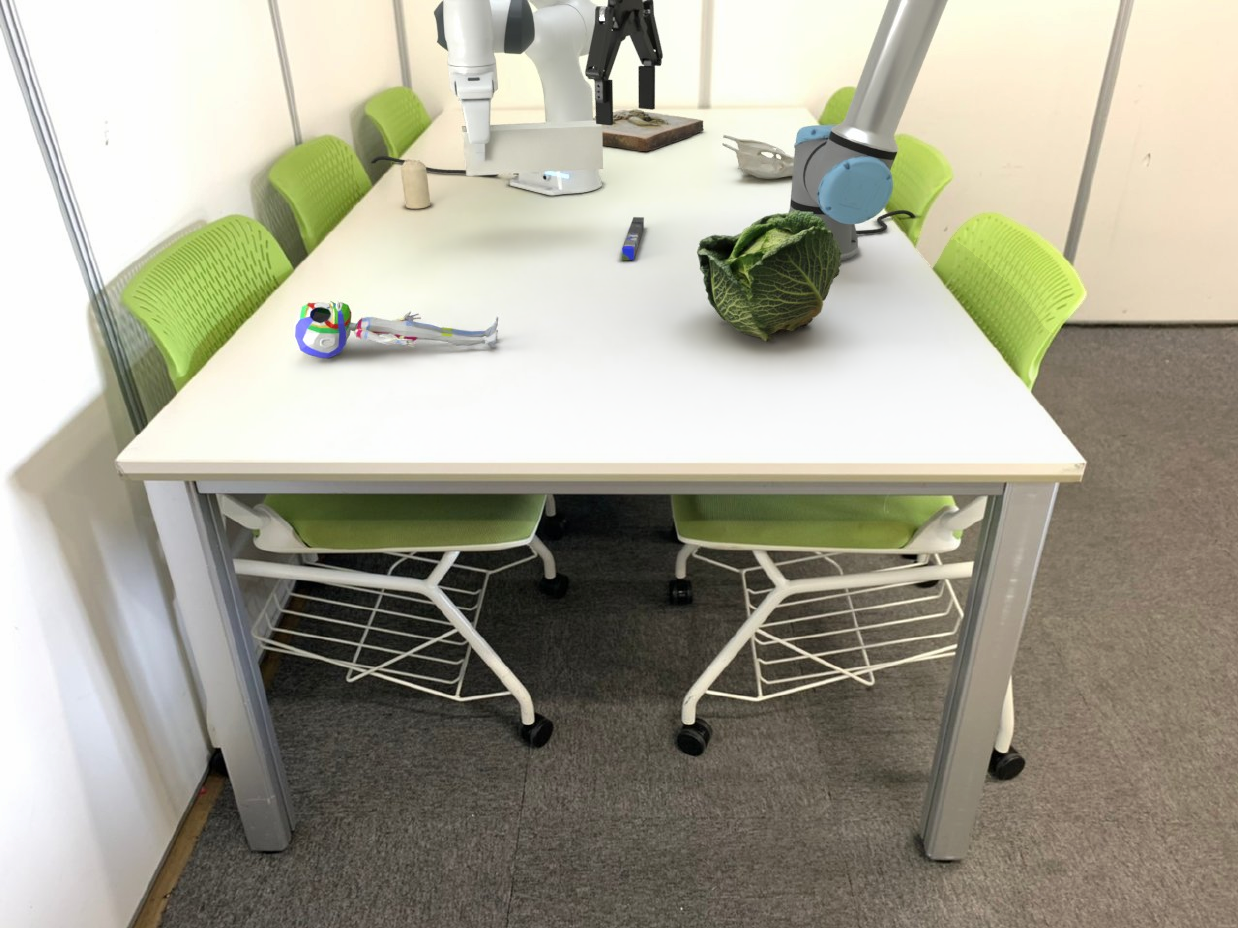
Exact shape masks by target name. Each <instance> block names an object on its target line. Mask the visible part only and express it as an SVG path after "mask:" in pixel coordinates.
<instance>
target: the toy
mask: <svg viewBox="0 0 1238 928" xmlns="http://www.w3.org/2000/svg"><path fill="white" fill-rule="evenodd" d="M411 313H412V311H411V310H410V311H409V312H408V313H406V314H405V315H404V316H403V317H402V318H396V319H391V320H389V319H384V318H380V317H379V318H377V317H374V316H365V317H361V318H360V319H358V321H357V322H352V311H351V308H350V306H349V304H347V303H344V302H342V301H337V302H336V303H335V302H333V301H332V300H330V303H329V302H308V303H306V304H305V305H302V307H301V308H300V311H299V313H298V315H297V318H296V320H295V321H294V325H293V337H294V340H295V342H296V344H297V346H298V348H299V350H300V351H301V352H303V353H305V354H306V355H308V356H312V357H316V358H322V359H329V358H332V357H334V356H337V355H340V354H341V353H342V351H343V350H344V348H345V347H346V346H347V343H348V339H349V337H350V335H351V331H352V332H353V333H354V336H355V337H356V338H358V339H359V340H369V341H371V342H376V343H379V344H382V345H404V346H409V347H412V348H414V346H416V343H414V342H415V341H417V340H424V341H434V342H435V341H437V342H443V343H448V344H451V345H455V346H476V345H482V344H485V345H486V346H489V347H491V348H494V347H495V345H496V343H497V341H498V333H499V330H498V329H497V328H498V326H499V325H498V322H499V317H498V316H496V317H495V321H494V323H493V324H492V325H491V326H490V327H489V328H487V329H486V330H465V329H458V328H453V327H439V326H437V325H433V324H430V323H424V322H418V321H415V320H421V319H422V317H419V315H420V313H416V314H412V315H411ZM416 316H418V317H416ZM381 335H392V336H394V337H391V336H381Z"/></svg>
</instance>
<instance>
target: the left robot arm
mask: <svg viewBox="0 0 1238 928" xmlns="http://www.w3.org/2000/svg"><path fill="white" fill-rule="evenodd" d="M530 3H531V4H532V6H534V8H536V10H535V11H533V10H532V6H531V4H530ZM597 6H598V5H597V4H596V3H594V2H593V1H592V0H442V1H441V2H439V4H438V5H437V6H436V8H435V9H434V10H433V15H434V18H435V24H436V35H437V39H436V43H437V44H438V45H440V46H441V47H442V48H443V49H444V50H446V51H447V52H448V53H447V54H448V55H447V73H448V81H449V90H450V92H451V93H453V94H454V95H455V96H456V97H457V100H458V101H459V103H460V106H461V110H462V115H463V118H464V123H465V126H466V129H467V134H468V138H469V141H470V143H471V144H474V149H475V157H476V161H477V162H484V161H485V143H488V142H489V138H490V125H491V110H492V109H491V105H492V99H493V98H494V96H495V93H496V91H498V90H499V83H498V81H499V80H498V69H497V68H498V67H497V59H496V55H495V54H498V53H499V54H502V53H503V54H508V55H522V54H523V53H524V54H525V55H526V56H527V57H528V58H529V60H531V61H532V63H533V64H534V66H535V69H536V71H537V74H538V76H539V81H540V83H541V88H542V93H543V104H544V105H543V106H544V118H545V119H544V120H545V121H544V122H545V123H546V122H569V121H591V120H593V118H594V102H593V101H594V100H593V99H594V98H593V89H592V86H591V84H590V83H589V82H588V81H587V80H586V79H585V76H584V75H583V72H582V68H581V63H580V57H583V56H588V55H589V50H590V45H591V40H592V35H593V30H594V25H595V9H596V7H597ZM603 24H604V23H603ZM382 160H383V161H390V162H394V163H398V164H403V163H404V162H405V161H406V160H407V159H401V158H396V157H392V156H386V155H380V156H379V155H378V156H376V157H375V158H373V159H372V160H371V162H370V164H376V163H377V162H379V161H382ZM426 172H430V173H436V174H451V175H452V174H454V175H455V174H457V175H458V174H459V175H466V169H441V168H433V167H428V166H426ZM512 175H514V176H513V177H512V178H511V179H510V180H509V186H511V187H514V188H517V189H518V188H519V189H523V190H527V191H531V192H535V193H539V194H543V195H545V196H559V195H568V194H569V195H570V194H582V193H588V192H592V191H595V190H598V189H600V188H601V187H602V186H603V183H602V180H601V178H600V177H601V176H600V173H599V169H593V170H574V171H554V172H535V173H515V174H512ZM476 176H478V177H483V178H495V177H498V176H500V174H496V175H476Z"/></svg>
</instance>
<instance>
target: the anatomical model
mask: <svg viewBox="0 0 1238 928" xmlns="http://www.w3.org/2000/svg"><path fill="white" fill-rule="evenodd" d="M722 138H723V139H727V140H730V141H733V142H735V143H736V144H737V148H735V147H733V146H731V145H729V144H728V143H725V142H722V143H721V144H722V145H721V146H723V147H725V148H726V149H729V150H731V151H733V152H734V153H735V154H736V159H737V163H738V167H737V169H738V170H741V171H742V173H744V174H745V175H750V176H751V175H752V176H754V177H755V178H757V179H766V180H769V179H779V178H784V177H785V178H786V177H793V166H794V156H793V155H789V154H787V153H786V152H785V151H783V149H781V148H779V147H777V146H775V145H772V144H770V143H766V142H764V141H759V140H754V139H744V138H738V137H734V136H730V135H726V134H723V136H722ZM762 153H770V154H772V155H773V156H772V157H768V156H766V155H764V154H762ZM777 155H778V156H779V157H780V158H778V157H777Z"/></svg>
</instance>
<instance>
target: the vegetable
mask: <svg viewBox="0 0 1238 928" xmlns="http://www.w3.org/2000/svg"><path fill="white" fill-rule="evenodd" d="M698 245H699V246H698V248H697V251H696V253H697V258H698V262H699V270H700V272H701V273H702V274H703V278H702V279H703V284H704V287H705V292H706V293H707V300H708V302H709V304H710V306H711V307H712V308H713V309H714V310H715V312H716V313H717V315H718V316H719V317H720V319H721V320H723V322H727V323H728V324H729V325H730V326H731V328H733V329H734V330H736V331H737V332H739V333H740V334H741V333H742V334H743V335H747V336H750V337H757V338H760V339H762V340H763V342H768V340H769V339H772V340H773V339H774V337H773V336H772V335H773V334H775V333H776V332H778V331H779V330H786V331H790V332H793V331H794V330H795V329H796V328H798V327H808V324H810V323H812V322H813V320H814V318H815V317H817V316H818V315H820V313H822V312H821V311H822V309H823V306H824V301H825V300H826V298H827V297H828V295H829V292H830V289H831V285H832V284H833V282H834V280H835V278H837V277H838V276H839V275H840V267H841V266H842V264H841V261H840V256H841V254H842V253H841V251H840V249H839V245H838V243H837V242H836V241H835V239H834V235H833V234H832V232H831V230H830V231H827V229H826V226H825V222H824V221H823V219H822V218H819V217H817V216H815V215H814V213H813V212H801V211H799V210H798V211H797V210H793V211H792V212H790V213H788V212H785V213H774V214H769V215H766V216H764V217H762V218H759V219H758V220H756V221H754V222H753V223H751V224H750V226H747V227H746V228H744V229H743V230H742V231H741V233H737V234H736V235H725V234H722V235H719V234H712V235H710V236H707V237H704V238H703V239H701V240H700V241H699V243H698Z"/></svg>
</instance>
